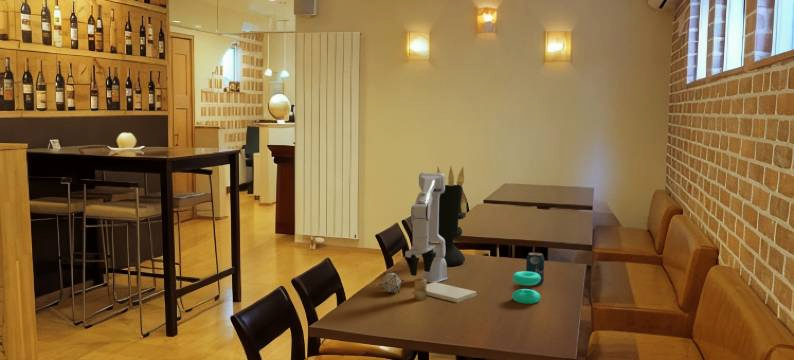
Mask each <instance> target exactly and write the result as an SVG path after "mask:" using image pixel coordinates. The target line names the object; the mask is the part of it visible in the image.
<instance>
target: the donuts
mask: <svg viewBox="0 0 794 360" xmlns="http://www.w3.org/2000/svg"><path fill="white" fill-rule="evenodd" d="M512 280H513V281H514V282H515V283H516V284H518V285H521V286H522V285H523V286H536V285H535V284H538V283H539V282H540V280H541V277H540V275H539V274H537V273H535V272H530V271H525V270H522V271H517V272H514V274H512ZM511 296H512V299H513V301H515V302H517V303H519V304H525V305H527V304H530V305H532V304H536V303H539V302H540V300H541V294H540V293H539V292H538V291H536V290H534V289H529V288H521V289H517V290H515V291H514V292H513V293H512V295H511Z"/></svg>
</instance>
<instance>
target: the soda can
mask: <svg viewBox="0 0 794 360" xmlns="http://www.w3.org/2000/svg"><path fill="white" fill-rule="evenodd" d="M525 263H526V267H525V269H526V271H530V272H535V273H537V274H539V275H540V277H541V280H540V282H539V283H538V284H535V285H534V286H540V285H543V283H544V280H545V257H544V254H543V253H542V252H540V251H539V252H537V251H535V252H534V251H532V252H528V253H527V256H526V262H525Z"/></svg>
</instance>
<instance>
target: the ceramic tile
mask: <svg viewBox="0 0 794 360" xmlns="http://www.w3.org/2000/svg"><path fill="white" fill-rule="evenodd" d="M477 294H478V292H477V291H475V290H471V289H467V288H462V287H457V286H453V285H449V284H444V283H440V282H437V283H436V282H434V283H430V282H429V283H427V296H430V297H433V298H436V299H437V298H438V299H441V300H445V301H449V302H454V303H460V302H463V301H465V300H468V299H471V298H474V297H476V296H477Z"/></svg>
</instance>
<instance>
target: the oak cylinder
mask: <svg viewBox="0 0 794 360" xmlns="http://www.w3.org/2000/svg"><path fill="white" fill-rule="evenodd" d="M422 278H423V277H420V278H415V279H414V300H416V301H425V300H427V296H428V295H427V284H428V282H427V280H426V279H422Z"/></svg>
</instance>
